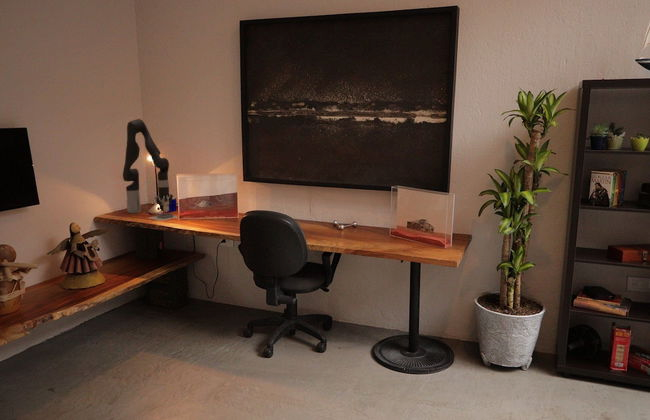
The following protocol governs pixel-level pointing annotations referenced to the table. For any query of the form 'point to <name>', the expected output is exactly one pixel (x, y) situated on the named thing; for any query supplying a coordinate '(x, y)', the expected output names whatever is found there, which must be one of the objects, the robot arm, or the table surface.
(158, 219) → the mat
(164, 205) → the block
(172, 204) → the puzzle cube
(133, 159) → the robot arm
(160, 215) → the tile
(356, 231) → the table surface
